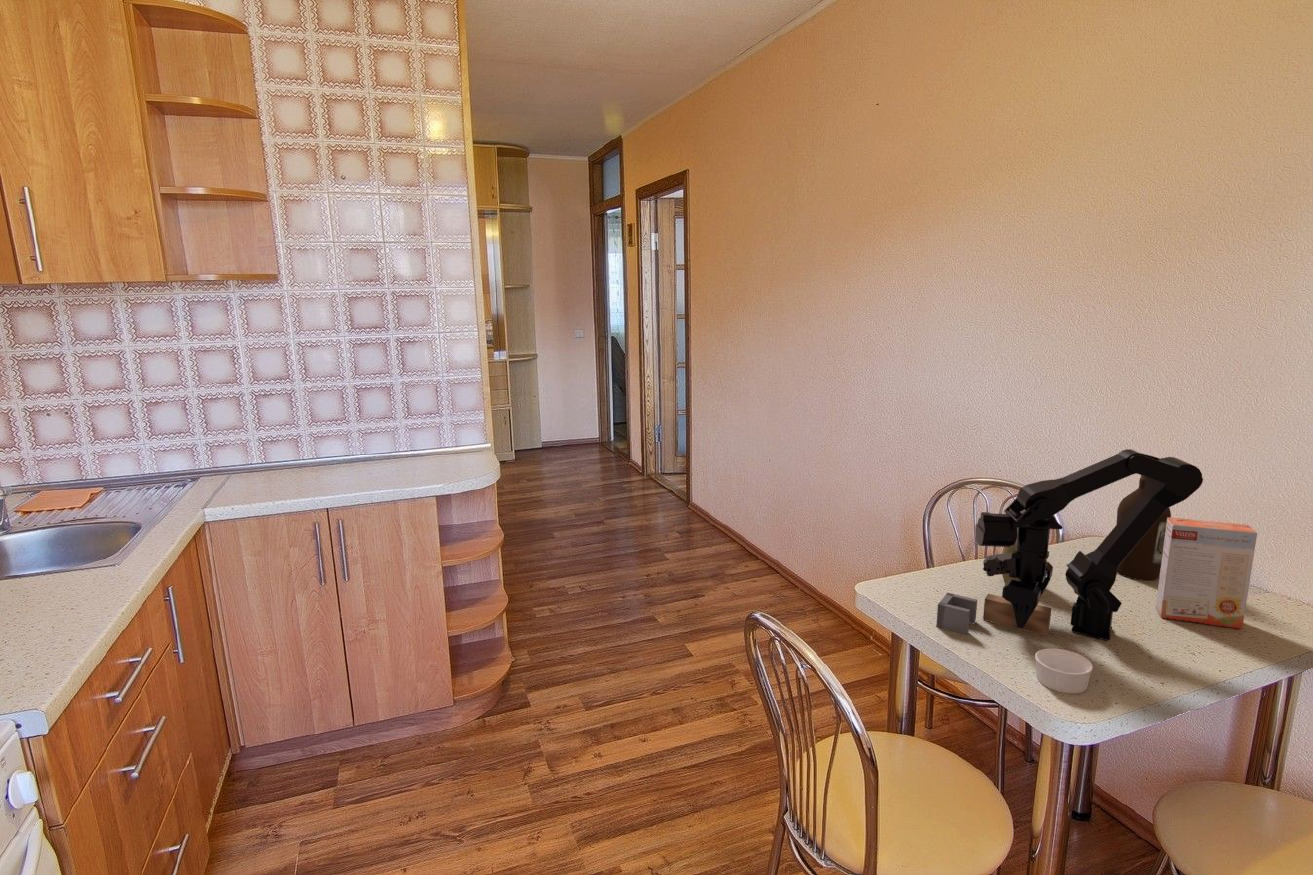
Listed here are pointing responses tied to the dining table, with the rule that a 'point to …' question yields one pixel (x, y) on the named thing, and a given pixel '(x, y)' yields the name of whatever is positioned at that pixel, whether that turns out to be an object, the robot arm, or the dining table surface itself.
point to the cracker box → (1206, 571)
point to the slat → (1004, 614)
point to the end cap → (956, 613)
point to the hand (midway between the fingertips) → (1024, 618)
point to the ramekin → (1063, 670)
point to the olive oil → (1143, 542)
